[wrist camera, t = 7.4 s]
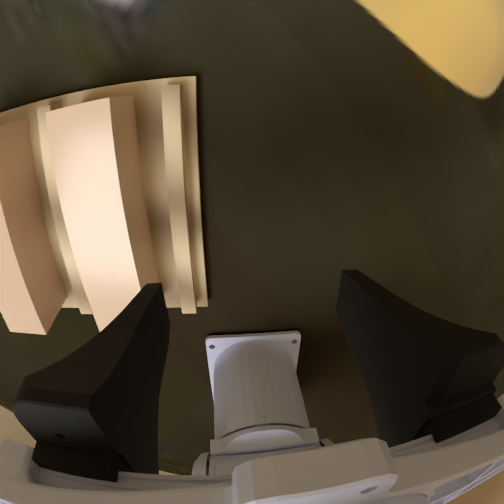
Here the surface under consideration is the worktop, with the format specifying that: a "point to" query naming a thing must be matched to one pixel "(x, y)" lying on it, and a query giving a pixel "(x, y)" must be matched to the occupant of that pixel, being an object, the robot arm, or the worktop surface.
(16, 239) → the clay bar
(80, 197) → the clay bar
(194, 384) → the worktop surface
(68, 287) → the rack
